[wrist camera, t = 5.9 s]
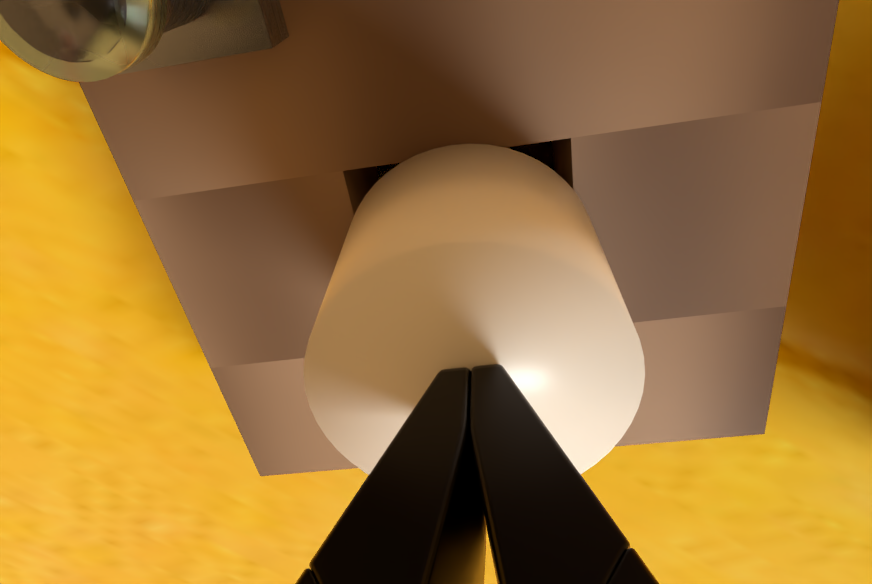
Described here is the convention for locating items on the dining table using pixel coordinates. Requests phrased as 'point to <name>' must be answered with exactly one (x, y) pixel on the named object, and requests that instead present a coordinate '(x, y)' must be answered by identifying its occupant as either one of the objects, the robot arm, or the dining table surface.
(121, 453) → the dining table surface
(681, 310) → the mount
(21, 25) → the potentiometer
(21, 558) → the dining table surface
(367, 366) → the knob
